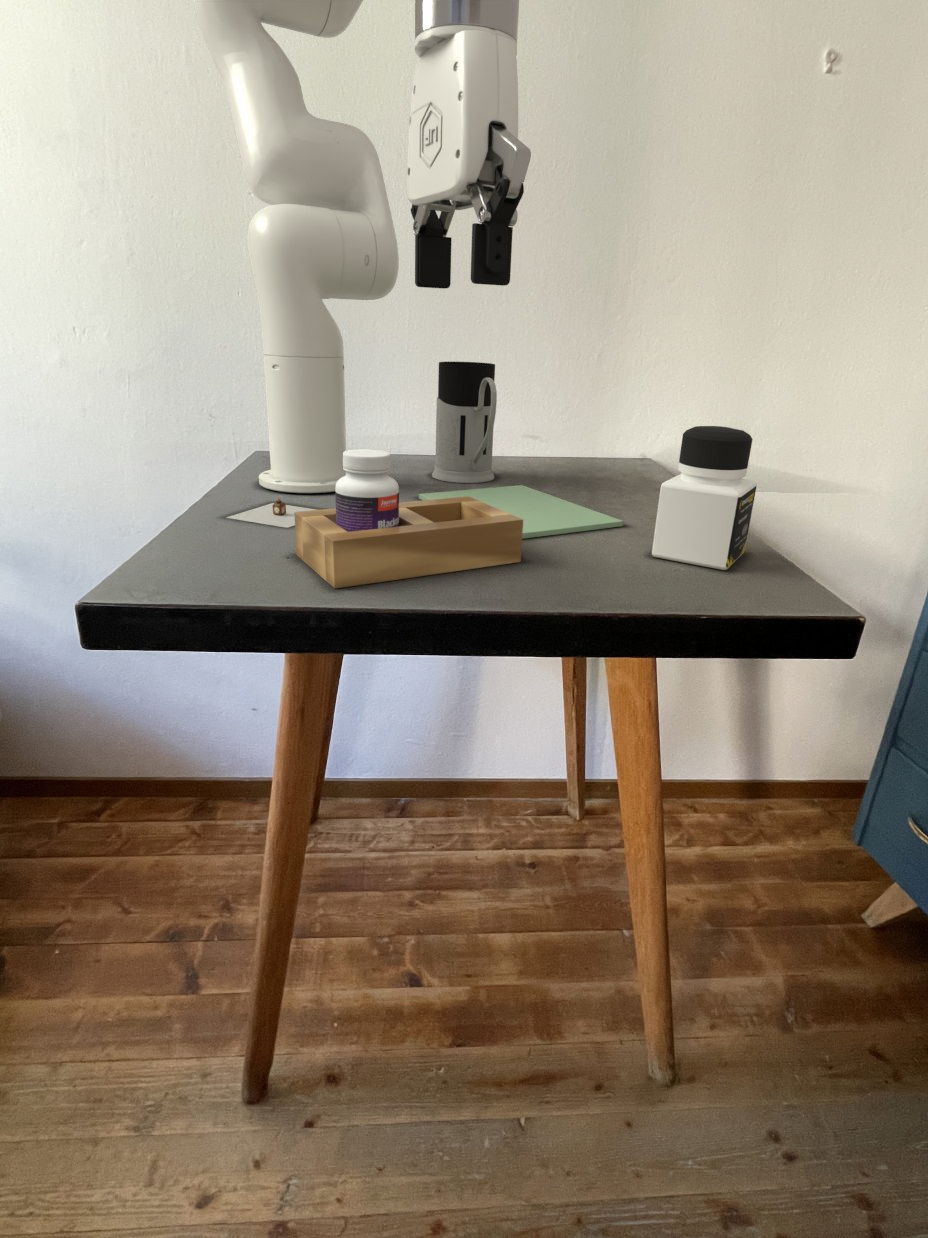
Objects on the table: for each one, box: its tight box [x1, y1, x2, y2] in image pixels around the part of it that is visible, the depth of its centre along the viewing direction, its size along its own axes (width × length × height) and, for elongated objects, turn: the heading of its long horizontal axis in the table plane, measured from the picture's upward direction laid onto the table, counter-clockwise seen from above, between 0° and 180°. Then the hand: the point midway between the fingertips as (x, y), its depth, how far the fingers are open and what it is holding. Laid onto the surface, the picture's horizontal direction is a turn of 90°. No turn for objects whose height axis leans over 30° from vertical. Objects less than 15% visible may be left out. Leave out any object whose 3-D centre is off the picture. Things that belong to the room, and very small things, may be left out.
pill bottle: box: [334, 448, 400, 532], centre depth 63 cm, size 5×5×10 cm
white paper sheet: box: [225, 496, 317, 529], centre depth 80 cm, size 8×8×2 cm
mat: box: [418, 484, 624, 540], centre depth 85 cm, size 20×15×1 cm
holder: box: [294, 496, 523, 589], centre depth 66 cm, size 10×18×4 cm, turn 119°
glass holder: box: [431, 361, 498, 484], centre depth 98 cm, size 9×14×15 cm, turn 21°
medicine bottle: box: [651, 425, 758, 571], centre depth 69 cm, size 7×7×12 cm
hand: (459, 285), depth 60 cm, fingers open, 9 cm apart
